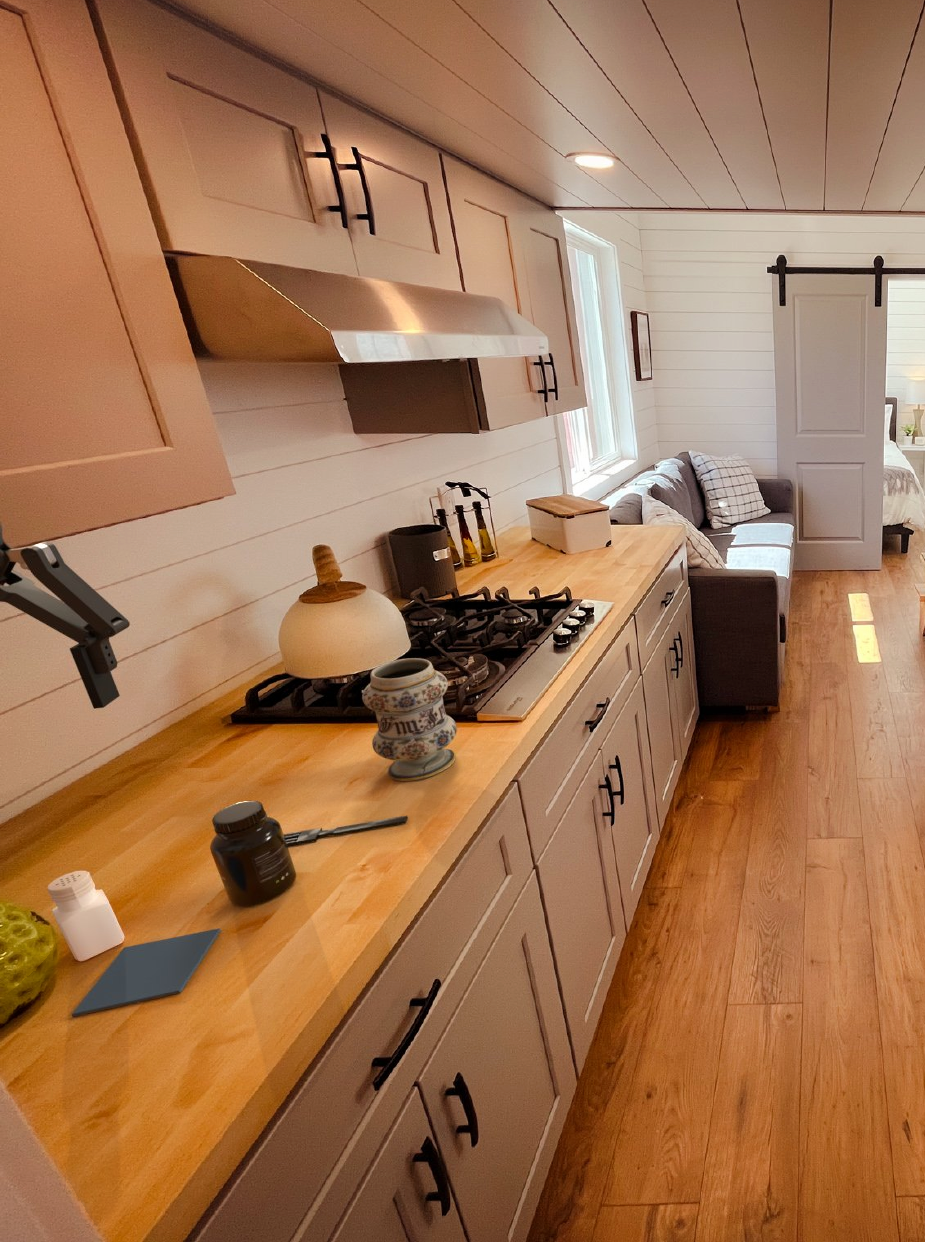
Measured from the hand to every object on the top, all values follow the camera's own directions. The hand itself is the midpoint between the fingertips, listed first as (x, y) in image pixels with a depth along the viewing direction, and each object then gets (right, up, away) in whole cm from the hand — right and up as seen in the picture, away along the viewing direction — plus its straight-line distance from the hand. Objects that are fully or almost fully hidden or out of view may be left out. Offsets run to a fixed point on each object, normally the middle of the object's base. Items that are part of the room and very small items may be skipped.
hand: (18, 712), depth 66 cm
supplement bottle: (+7, -26, +21) cm, 34 cm away
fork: (+9, -22, +31) cm, 39 cm away
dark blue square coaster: (+4, -30, +9) cm, 32 cm away
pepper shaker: (-5, -29, +12) cm, 32 cm away
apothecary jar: (+10, -16, +48) cm, 52 cm away
